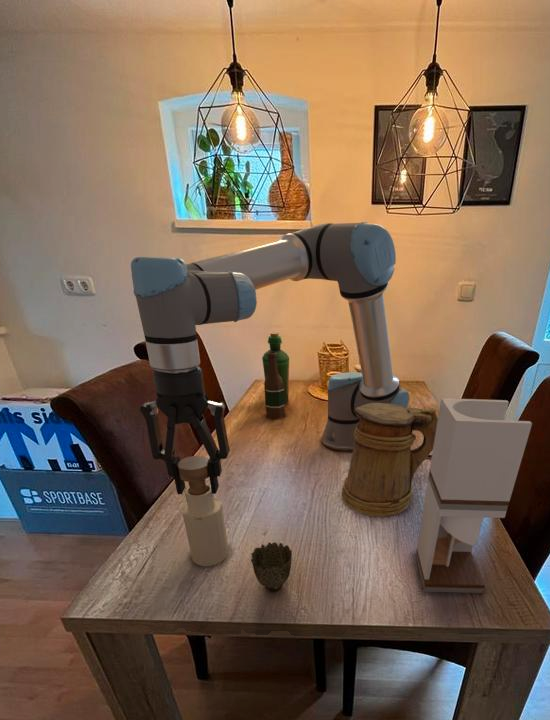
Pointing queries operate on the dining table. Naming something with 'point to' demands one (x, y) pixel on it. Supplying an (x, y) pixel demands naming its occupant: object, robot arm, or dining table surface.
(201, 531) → the bottle
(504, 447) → the white pedestal holder
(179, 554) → the dining table surface
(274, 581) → the cup
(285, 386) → the bottle
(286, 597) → the dining table surface
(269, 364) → the beer bottle
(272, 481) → the dining table surface
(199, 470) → the cork
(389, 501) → the tankard
